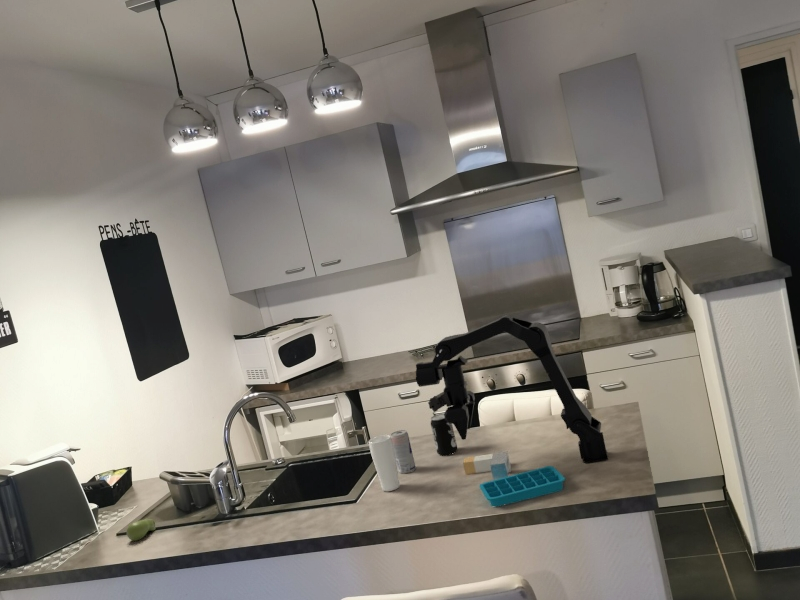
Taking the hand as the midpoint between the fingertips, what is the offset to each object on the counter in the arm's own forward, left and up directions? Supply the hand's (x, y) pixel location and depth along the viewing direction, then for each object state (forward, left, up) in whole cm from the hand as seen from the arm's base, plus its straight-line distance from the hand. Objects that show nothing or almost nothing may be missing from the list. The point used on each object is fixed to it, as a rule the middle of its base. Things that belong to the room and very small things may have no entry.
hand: (466, 434), depth 202 cm
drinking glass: (+24, +5, -11) cm, 27 cm away
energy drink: (+22, -8, -11) cm, 26 cm away
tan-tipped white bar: (-3, 0, -11) cm, 11 cm away
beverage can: (+11, -19, -11) cm, 25 cm away
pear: (+100, +16, -11) cm, 102 cm away
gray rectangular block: (-9, +8, -11) cm, 16 cm away
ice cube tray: (-15, +20, -12) cm, 27 cm away
